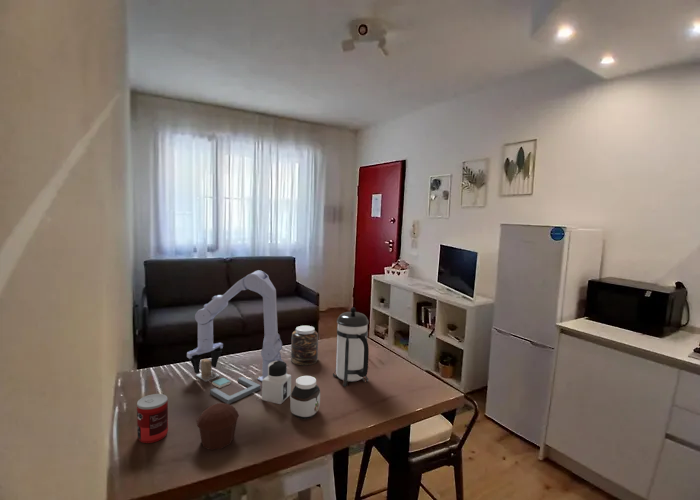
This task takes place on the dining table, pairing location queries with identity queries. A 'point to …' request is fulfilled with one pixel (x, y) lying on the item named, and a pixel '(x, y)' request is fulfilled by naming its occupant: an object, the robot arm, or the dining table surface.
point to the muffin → (217, 425)
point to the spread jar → (305, 398)
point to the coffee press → (352, 347)
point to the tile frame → (229, 399)
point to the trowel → (206, 371)
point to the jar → (304, 345)
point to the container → (276, 383)
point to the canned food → (152, 418)
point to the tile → (221, 382)
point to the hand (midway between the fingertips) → (205, 369)
